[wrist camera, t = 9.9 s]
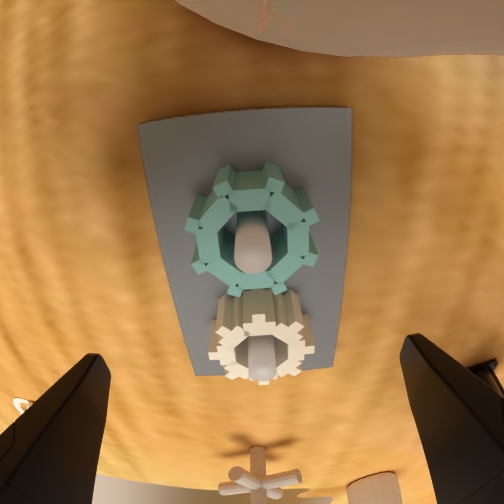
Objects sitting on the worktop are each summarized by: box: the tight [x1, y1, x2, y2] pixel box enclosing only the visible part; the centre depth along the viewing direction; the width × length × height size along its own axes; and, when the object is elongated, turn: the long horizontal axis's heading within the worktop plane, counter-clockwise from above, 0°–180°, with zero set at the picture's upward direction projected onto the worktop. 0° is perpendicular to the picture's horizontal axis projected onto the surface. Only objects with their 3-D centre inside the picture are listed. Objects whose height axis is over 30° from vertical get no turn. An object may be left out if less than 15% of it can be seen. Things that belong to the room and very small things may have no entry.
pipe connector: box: [218, 447, 302, 504], centre depth 29 cm, size 10×10×10 cm
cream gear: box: [208, 288, 315, 385], centre depth 20 cm, size 6×6×3 cm
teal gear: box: [184, 161, 320, 297], centre depth 16 cm, size 6×6×3 cm
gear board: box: [137, 106, 352, 381], centre depth 18 cm, size 11×19×6 cm, turn 4°
